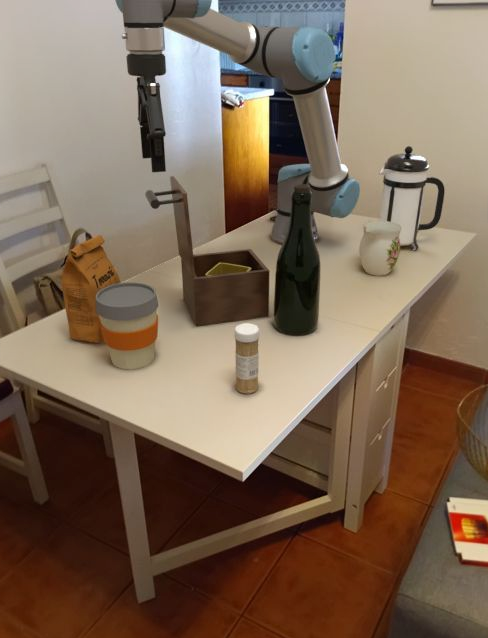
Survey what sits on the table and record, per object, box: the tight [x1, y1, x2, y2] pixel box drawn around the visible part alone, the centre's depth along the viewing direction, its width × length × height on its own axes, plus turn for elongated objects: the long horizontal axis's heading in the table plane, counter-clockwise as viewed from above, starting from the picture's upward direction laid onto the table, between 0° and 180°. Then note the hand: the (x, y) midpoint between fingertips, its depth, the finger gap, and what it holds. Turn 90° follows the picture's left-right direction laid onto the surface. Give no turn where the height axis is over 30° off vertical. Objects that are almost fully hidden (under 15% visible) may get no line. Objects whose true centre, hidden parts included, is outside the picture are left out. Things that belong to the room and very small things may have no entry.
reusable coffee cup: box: [96, 281, 160, 370], centre depth 123 cm, size 13×13×15 cm
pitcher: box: [359, 220, 401, 277], centre depth 166 cm, size 11×18×14 cm, turn 143°
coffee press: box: [378, 145, 446, 251], centre depth 180 cm, size 17×16×30 cm
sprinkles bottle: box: [234, 322, 260, 395], centre depth 113 cm, size 5×5×13 cm
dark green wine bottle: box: [273, 184, 321, 336], centre depth 131 cm, size 10×10×33 cm
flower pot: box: [205, 263, 251, 276], centre depth 145 cm, size 9×9×9 cm
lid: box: [144, 175, 196, 277], centre depth 133 cm, size 19×15×7 cm
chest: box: [180, 248, 271, 327], centre depth 144 cm, size 18×15×12 cm
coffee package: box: [61, 234, 121, 343], centre depth 131 cm, size 10×12×22 cm
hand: (153, 164), depth 126 cm, fingers open, 13 cm apart
